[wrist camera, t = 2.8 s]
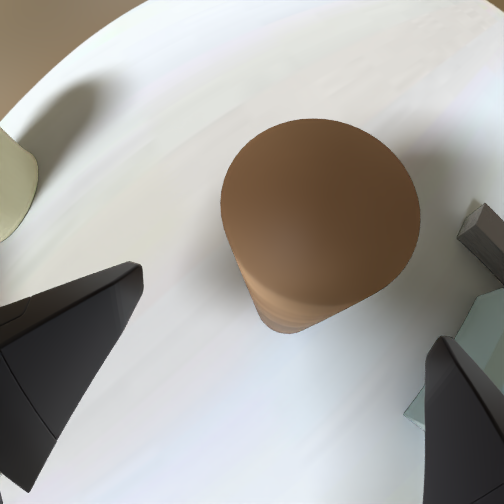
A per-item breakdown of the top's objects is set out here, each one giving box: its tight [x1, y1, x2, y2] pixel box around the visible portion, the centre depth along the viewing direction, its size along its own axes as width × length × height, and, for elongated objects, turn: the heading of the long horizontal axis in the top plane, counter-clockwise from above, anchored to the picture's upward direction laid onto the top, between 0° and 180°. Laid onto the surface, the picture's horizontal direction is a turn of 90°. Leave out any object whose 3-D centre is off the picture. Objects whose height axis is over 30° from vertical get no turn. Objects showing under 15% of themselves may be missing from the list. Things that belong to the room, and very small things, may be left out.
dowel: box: [220, 119, 420, 334], centre depth 12 cm, size 4×4×13 cm
